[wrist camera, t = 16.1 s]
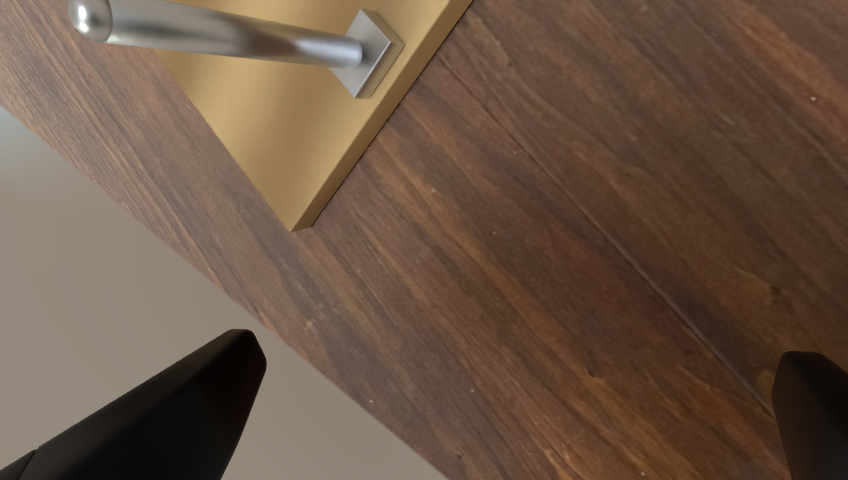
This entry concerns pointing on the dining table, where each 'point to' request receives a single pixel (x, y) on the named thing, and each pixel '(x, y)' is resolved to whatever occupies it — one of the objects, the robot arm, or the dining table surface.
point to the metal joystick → (244, 37)
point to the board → (305, 97)
